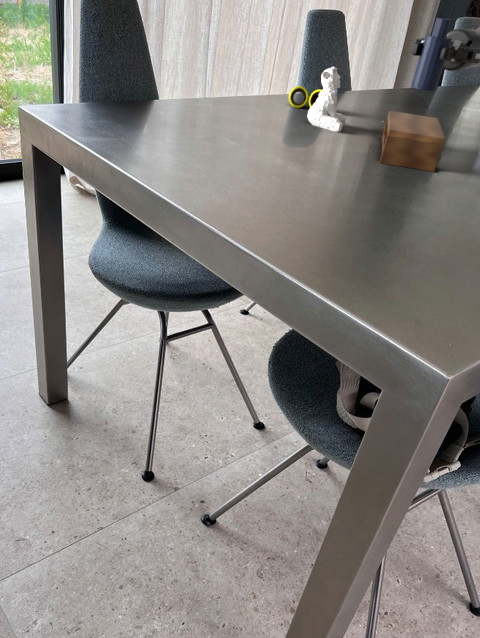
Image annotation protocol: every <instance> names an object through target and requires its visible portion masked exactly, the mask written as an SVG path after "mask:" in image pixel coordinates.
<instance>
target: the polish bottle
mask: <svg viewBox="0 0 480 638" xmlns="http://www.w3.org/2000/svg"><path fill="white" fill-rule="evenodd" d="M451 24H452V19H450V18H443V17H436V19H435V22H434V25H433V29H432V33H431V34H426V35H425V36H424V43H423V46H422V50H421V53H420V56H419V57H418V60H417V64H416V67H415V70H414V75H413V78H412V81H411V85H410V87H411V88H413V89H416V90H421V91H428V92H436V91H437V89H438V85H439V82H440V79H441V76H442V72H443V70H444V69H443V66H444V63H445V61H442V60H439V58H440V55H441V52H442V49H443V47H450V44H451V41H452V39H451V38H447V33H448V32H449V30H450V27H451Z"/></svg>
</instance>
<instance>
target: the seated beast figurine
mask: <svg viewBox="0 0 480 638" xmlns="http://www.w3.org/2000/svg"><path fill="white" fill-rule="evenodd" d="M320 78H321V81H320V82H321V86H322V88H323V89H321V90H322V91H321V92H320V93H319V97H318V99H317V100H316V102H315V103H314V104H313V106H311V108H310V107H309V109H308V111H307V115H306V116H307V117H306V118H307V121H308V122H309V123H310V124H311V125H312V126H314V127H316V128H317V127H318V128H321V129H325V130H328V131H330V132H331V131H332V132H335V133H341V132H342V130H343V127H344V126H345V124H346V121H347V117H346V116H345V115H343V114H342V113H340V112H338V108H337V107H338V89H340V87H341V80H340V79H341V76H340V75H339V73H338V67H335V66H331V67H328V68H326V69H325V70H323V72H322V73H321V76H320Z"/></svg>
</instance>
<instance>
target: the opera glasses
mask: <svg viewBox="0 0 480 638" xmlns="http://www.w3.org/2000/svg"><path fill="white" fill-rule="evenodd" d="M322 90H323V89H318V88H317V89H315V90H314V91H313V92H311V93H310V96H309V92H308V90H307V88H306V87H304V86H302V85H296V86H295V87H293V88H292V89H291V90H290V92H289V94H288V102H289V104H290V105H291V106H292V107H293V108H295V109H301V108H303V107H304V106H305V105H307V103H308V106H309V109H310V108H311V106H313V104H314V103H315V102H316V100H317V99H318V97H319V93H320V92H321V91H322ZM298 93H301V94H302V95H303V100H302V101H301V102H299V103H298V102H296V101H295V99H294V98H295V95H296V94H298Z"/></svg>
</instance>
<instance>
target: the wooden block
mask: <svg viewBox="0 0 480 638" xmlns="http://www.w3.org/2000/svg"><path fill="white" fill-rule="evenodd" d="M445 141H446V137H445V133H444V131H443V129H442V126H441V123H440V121H439V118H438V117H434V116H433V117H432V116H427V115H420V114H414V113H407V112H401V111H394V110H389V111H388V114H387V118H386V122H385V125H384V129H383V133H382V136H381V141H380V142H381V143H382V145H381V155H380V159H379V164H385V165H390V166H396V167H403V168H408V169H414V170H419V171H426V172H432V173H435V170H436V167H437V165H438V162H439V158H440V155H441V152H442V151H443V150H442V149H443V146H444V143H445Z"/></svg>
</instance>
